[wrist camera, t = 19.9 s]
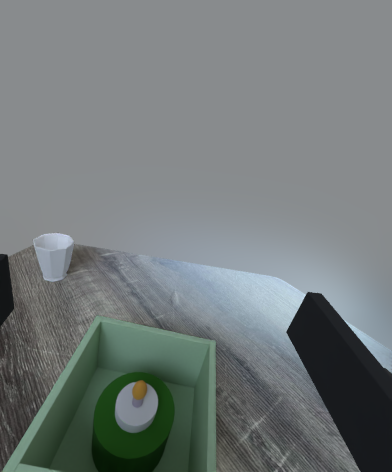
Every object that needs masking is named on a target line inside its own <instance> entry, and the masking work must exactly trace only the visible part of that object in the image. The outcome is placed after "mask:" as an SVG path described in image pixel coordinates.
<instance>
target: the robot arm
mask: <svg viewBox="0 0 392 472" xmlns="http://www.w3.org/2000/svg"><path fill="white" fill-rule="evenodd" d="M13 309H14V301H13V294H12V286H11V278H10V270H9V263H8V256H7V255H5V254H0V326H1V325H2V324H3V322H4V321H5V320H6V319H7V317H8V316H9V315H10V313H11V312H12V311H13ZM287 334H288V336H289V338H290V340H291V342H292V344H293V346H294V347H295V349H296V351H297V353H298V355H299V357H300V359H301V361H302V362H303V364H304V366H305V368H306V370H307V372H308V374H309V376H310V377H311V379H312V381H313V383H314V385H315V387H316V389H317V391H318V392H319V394H320V396H321V398H322V400H323V402H324V404H325V406H326V408H327V409H328V411H329V413H330V415H331V417H332V419H333V421H334V423H335V424H336V426H337V428H338V430H339V432H340V434H341V436H342V438H343V439H344V441H345V443H346V445H347V447H348V449H349V451H350V453H351V454H352V456H353V458H354V460H355V462H356V464H357V466H358V468H359V470H360V471H361V472H392V374H391V373H390V372H389V371H388V370H387V369H386V368H383V367H382V366H381V364H380V363H379V362H378V361H377V360H376V358H375V357H374V356H373V355H372V354H371V352H370V351H369V350H368V349H367V348H366V346H365V345H364V344H363V343H362V342H361V340H360V339H359V338H358V337H357V336H356V334H355V333H354V332H353V331H352V330H351V328H350V327H349V326H348V325H347V324H346V322H345V321H344V320H343V319H342V318H341V317H340V315H339V314H338V313H337V312H336V311H335V310H334V308H333V307H332V306H331V305H330V303H329V302H328V301H327V300H326V299H325V297H324V296H323V295H322V294H320V293H312V292H308V293H307V294H306V296H305V298H304V300H303V302H302V304H301V306H300V307H299V309H298V311H297V313H296V315H295V317H294V319H293V320H292V322H291V324H290V326H289V328H288V330H287Z"/></svg>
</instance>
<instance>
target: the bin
mask: <svg viewBox="0 0 392 472" xmlns="http://www.w3.org/2000/svg"><path fill="white" fill-rule="evenodd" d="M132 372H145V373H149V374H152V375H154V376H156V377H157V378H159V379H160V380H162V381H163V382H164V383H165V384H166V386H167V387H168V389H169V390H170V392H171V394H172V397H173V401H174V407H175V415H174V422H173V425H172V428H171V431H170V434H169V437H168V440H167V443H166V446H165V449H164V453H163V456H162V458H161V460H160V462H159V464H158V465H157V466H156V468H155V469H154V470H153V472H216V341H213V340H208V339H203V338H199V337H194V336H190V335H185V334H181V333H176V332H171V331H167V330H162V329H158V328H153V327H149V326H144V325H140V324H135V323H130V322H126V321H121V320H117V319H112V318H108V317H103V316H99V315H97V316H96V318H95V319H94V321H93V323H92V324H91V326H90V328H89V329H88V331H87V333H86V334H85V336H84V338H83V339H82V341H81V342H80V344H79V346H78V347H77V349H76V351H75V352H74V354H73V356H72V357H71V359H70V361H69V362H68V364H67V365H66V367H65V369H64V370H63V372H62V374H61V375H60V377H59V379H58V380H57V382H56V384H55V385H54V387H53V389H52V390H51V392H50V393H49V395H48V397H47V398H46V400H45V402H44V403H43V405H42V407H41V408H40V410H39V412H38V413H37V415H36V416H35V418H34V420H33V421H32V423H31V425H30V426H29V428H28V430H27V431H26V433H25V435H24V436H23V438H22V439H21V441H20V443H19V444H18V446H17V448H16V449H15V451H14V453H13V454H12V456H11V458H10V459H9V461H8V462H7V464H6V466H5V467H4V469H3V471H2V472H98V470H97V469H96V467H95V464H94V461H93V457H92V433H93V419H94V411H95V406H96V404H97V401H98V399H99V397H100V395H101V394H102V392H103V390H104V389H105V388H106V387H107V386H108V385H109V384H110V383H111V382H112V381H114V380H115V379H116V378H118V377H120V376H122V375H125V374H127V373H132Z"/></svg>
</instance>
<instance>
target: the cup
mask: <svg viewBox="0 0 392 472" xmlns="http://www.w3.org/2000/svg"><path fill="white" fill-rule="evenodd" d="M33 244H34V248H35V251H36V255H37V259H38V262H39V265H40V268H41V270H42V273H43V277H44V280H47V281H51V282H55V281H60V280H63V279H64V278H65V277H66V276H67V273H66V272H67V271H68V268H69V265H70V262H71V256H72V251H73V247H74V241H73V239H72V238H71V236H68V235H64V234H60V233H51V234H42V235H40V236H39V237H37V238H35V239H34V240H33Z"/></svg>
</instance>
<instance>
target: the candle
mask: <svg viewBox="0 0 392 472" xmlns="http://www.w3.org/2000/svg"><path fill="white" fill-rule="evenodd" d="M174 415H175V407H174V401H173V397H172V394H171V392H170V390H169V389H168V387H167V386H166V384H165V383H164V382H163V381H162V380H160V379H159V378H157V377H156V376H154V375H152V374H149V373H145V372H132V373H127V374H125V375H122V376H120V377H118V378H116V379H115V380H114V381H112V382H111V383H110V384H109V385H108V386H107V387H106V388H105V389H104V390H103V392H102V394H101V395H100V397H99V399H98V401H97V404H96V406H95V411H94V419H93V433H92V457H93V461H94V464H95V467H96V469H97V470H98V472H153V470H154V469H155V468H156V466H157V465H158V464H159V462H160V460H161V458H162V456H163V453H164V449H165V446H166V443H167V440H168V437H169V434H170V431H171V428H172V425H173V422H174Z"/></svg>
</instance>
